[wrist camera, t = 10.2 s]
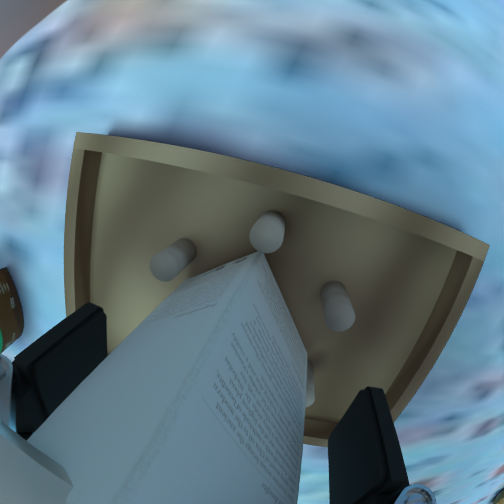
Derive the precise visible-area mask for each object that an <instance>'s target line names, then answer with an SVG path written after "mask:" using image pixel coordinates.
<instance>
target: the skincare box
mask: <svg viewBox="0 0 504 504" xmlns="http://www.w3.org/2000/svg"><path fill="white" fill-rule="evenodd" d="M306 382H307V351H306V349H305V347H304V344H303V342H302V340H301V337H300V335H299V333H298V330H297V328H296V326H295V323H294V321H293V319H292V317H291V314H290V312H289V310H288V307H287V305H286V303H285V301H284V298H283V296H282V294H281V291H280V289H279V287H278V285H277V282H276V280H275V278H274V276H273V273H272V271H271V269H270V267H269V264H268V262H267V260H266V258H265V255H264V253H262V252H259V251H257V252H255V253H252V254H250V255H247V256H245V257H242V258H239V259H237V260H234V261H232V262H229V263H226V264H224V265H221V266H219V267H217V268H214V269H212V270H209V271H207V272H204V273H202V274H199V275H197V276H194V277H191V278H188V279H186V280H185V281H184V282H183V283H182V284H181V285H180V286H179V287H178V288H177V289H176V290H175V291H173V292H172V293H171V294H170V295H169V296H168V297H167V298H166V299H165V300H164V301H163V302H162V303H161V304H160V305H159V306H158V307H157V308H156V309H155V310H154V311H153V312H152V313H151V314H149V315H148V316H147V317H146V318H145V319H144V320H143V321H142V322H141V323H140V324H139V325H138V326H137V327H136V328H135V329H134V330H133V331H132V332H131V333H130V334H129V335H128V336H127V337H126V338H125V339H124V340H123V341H122V342H121V343H120V344H119V345H118V346H117V347H116V348H115V349H114V350H113V351H112V352H111V353H110V354H109V355H108V356H107V357H106V358H105V359H104V360H103V361H102V362H101V363H100V364H99V365H98V366H97V367H96V368H95V369H94V370H93V372H92V373H91V374H90V375H89V376H88V377H86V378H85V379H84V380H83V381H82V382H81V383H80V385H79V386H78V387H77V388H76V389H75V390H74V391H73V392H72V393H71V394H70V395H69V396H68V397H67V398H66V399H65V400H64V401H63V402H62V403H61V404H60V405H59V406H58V407H57V408H56V409H55V411H54V412H53V413H52V414H51V415H50V416H49V417H48V418H47V420H46V421H45V422H44V423H43V424H42V425H41V426H40V427H39V428H38V429H37V430H36V431H35V432H34V433H33V434H32V436H31V437H30V438H29V439H28V440H27V442H29V443H30V444H31V445H33V446H34V447H35V448H37V449H38V450H40V451H41V452H42V453H44V454H45V455H47V456H48V457H50V458H51V459H53V460H54V461H56V462H57V463H59V464H60V465H62V466H63V467H64V468H65V470H66V472H67V474H68V476H69V478H70V480H71V482H72V484H73V486H74V487H73V489H72V490H71V492H70V493H69V495H68V497H67V499H66V502H65V504H297V501H298V492H299V481H300V471H301V460H302V450H303V435H304V420H305V403H306Z"/></svg>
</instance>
